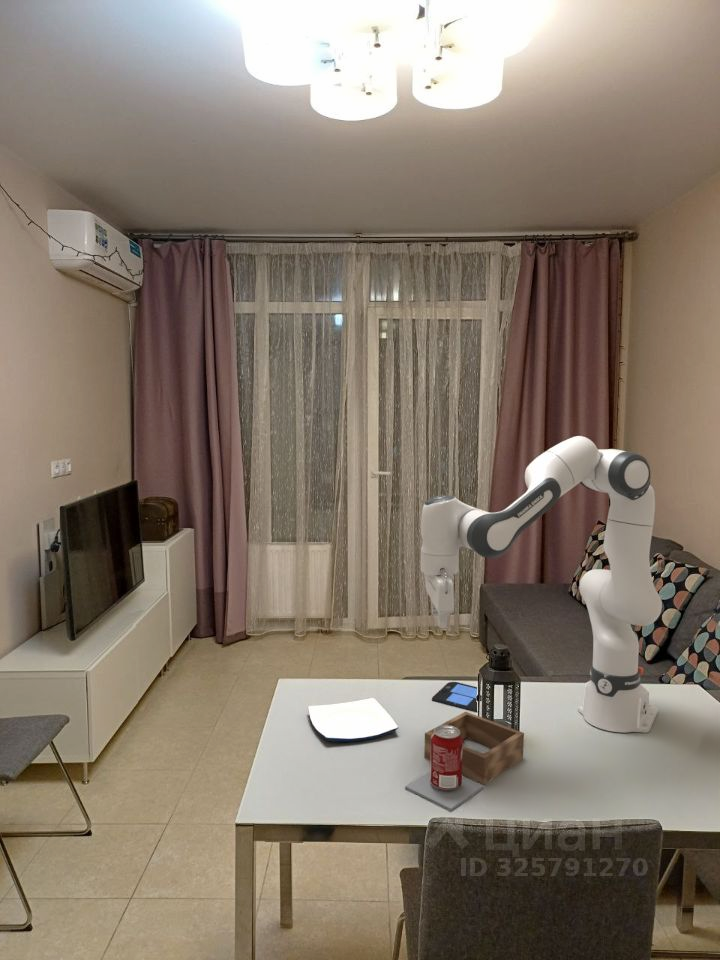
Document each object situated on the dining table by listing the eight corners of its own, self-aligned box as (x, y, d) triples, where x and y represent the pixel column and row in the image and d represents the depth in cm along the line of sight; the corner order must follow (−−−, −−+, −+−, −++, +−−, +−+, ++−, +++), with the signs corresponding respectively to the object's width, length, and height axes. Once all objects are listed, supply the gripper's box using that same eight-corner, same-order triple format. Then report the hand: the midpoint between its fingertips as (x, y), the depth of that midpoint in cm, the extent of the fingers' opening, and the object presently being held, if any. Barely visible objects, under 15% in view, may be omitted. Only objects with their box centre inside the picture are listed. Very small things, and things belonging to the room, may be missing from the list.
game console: (430, 702, 192) (430, 694, 191) (450, 687, 202) (450, 680, 202) (478, 715, 184) (478, 707, 184) (496, 698, 195) (496, 691, 194)
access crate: (464, 734, 171) (465, 711, 171) (523, 757, 160) (524, 733, 160) (424, 757, 160) (424, 733, 159) (484, 784, 148) (485, 758, 148)
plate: (375, 705, 189) (375, 696, 189) (403, 739, 170) (403, 728, 169) (303, 714, 182) (303, 705, 182) (323, 750, 163) (323, 740, 163)
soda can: (460, 795, 143) (461, 740, 142) (427, 790, 145) (429, 736, 143) (463, 778, 149) (464, 726, 148) (432, 774, 151) (433, 722, 150)
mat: (438, 768, 155) (439, 765, 155) (483, 788, 147) (484, 785, 147) (405, 788, 146) (405, 786, 146) (450, 811, 138) (450, 808, 138)
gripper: (461, 574, 152) (460, 635, 153) (445, 555, 172) (445, 608, 173) (432, 574, 151) (432, 635, 153) (420, 555, 172) (420, 609, 173)
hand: (439, 621), depth 163 cm, fingers open, 8 cm apart
